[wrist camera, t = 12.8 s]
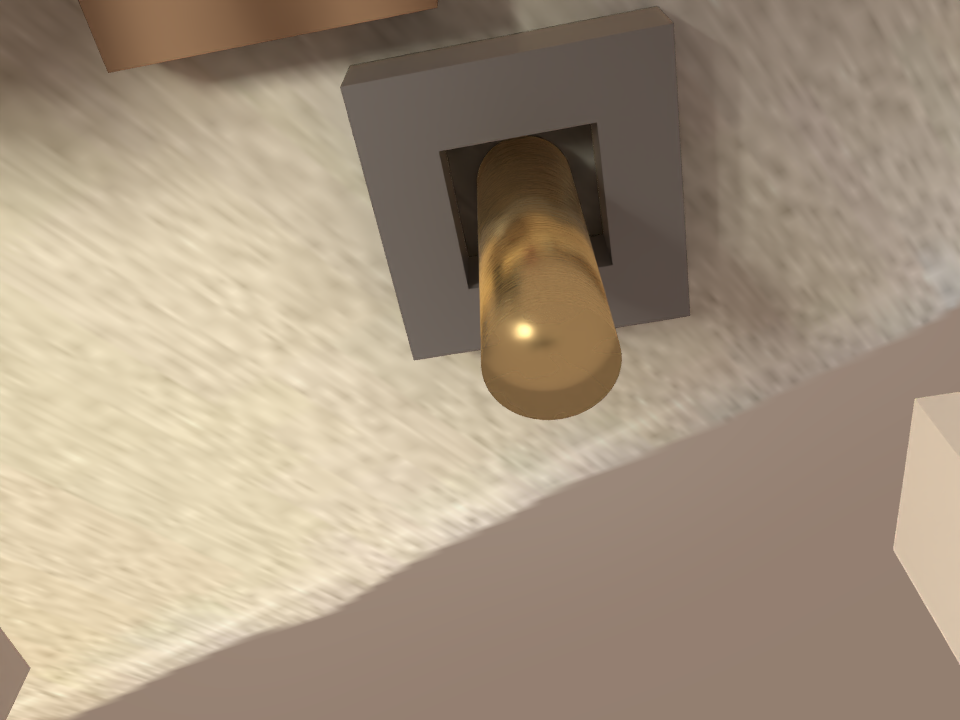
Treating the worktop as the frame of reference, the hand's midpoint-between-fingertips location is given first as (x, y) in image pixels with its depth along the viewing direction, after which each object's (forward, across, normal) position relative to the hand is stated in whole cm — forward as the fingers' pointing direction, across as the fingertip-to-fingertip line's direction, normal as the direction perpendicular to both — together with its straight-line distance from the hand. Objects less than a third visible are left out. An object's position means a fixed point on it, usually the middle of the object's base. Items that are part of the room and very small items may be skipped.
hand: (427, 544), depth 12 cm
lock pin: (+26, +2, -6) cm, 26 cm away
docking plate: (+26, +2, -6) cm, 26 cm away
